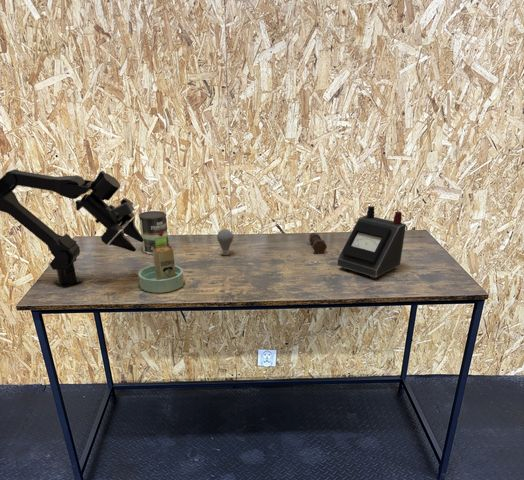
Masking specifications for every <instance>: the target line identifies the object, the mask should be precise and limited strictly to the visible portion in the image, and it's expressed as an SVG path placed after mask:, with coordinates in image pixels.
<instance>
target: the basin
mask: <svg viewBox="0 0 524 480" xmlns="http://www.w3.org/2000/svg"><path fill="white" fill-rule="evenodd" d="M174 265H175V264H174ZM175 275H176V276H175V277H173V278H169V279H164V280H156V274H155V266H154V264H153V265H152V264H151V265H149V266H146V267H143V268H142V269H140V270H139V271H138V281H139V287H140V289H141V290H143V291H145V292H149V293H154V294H162V293H163V294H164V293H170V292H173V291H176V290H179V289H180V288H182V287H183V286H184V285H185V281H184V271H183V268H182V267H180V266H179V265H175Z"/></svg>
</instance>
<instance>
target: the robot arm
mask: <svg viewBox="0 0 524 480" xmlns="http://www.w3.org/2000/svg"><path fill="white" fill-rule="evenodd" d="M19 186H20V187H25V188H31V189H38V190H43V191H48V192H49V191H50V192H52V193H53V192H54V193H56V194H58V195H59V196H61V197H63V198H64V197H65V198H67V199H70V200H76V199H77V198H80V197H81V196H82V197H81V199H77V200H76V201H75V210H76V211H77V212H78V211H80V210H81V209H83V210H84V209H85V211H86V212H88V213H89V214H90V215H91V216H92V217H93V218H94V219H95V220H94V222H95V223H96V224H99V223H100V224H101V225H102V226H103V227H105V231H104V233H102V235H101V236H100V239H101V242H103V243H104V245H106V246H107V245H109V246H114V247H117V248H121V249H124V250H127V251H131V252H132V253H133V252H134V253H135V252H136V251H137V248H136V247H135V246H134V245H133V244H132V242H131V241H130V240H129V239H128V238H127V237H126V235H127V236H129V237H130V238H131V239H134V240H135V241H138V242H140V243H142V242H143V241H144V239H143V238H142V236H141V232H140V231H139V229H138V228H137V226H136V217H135V214H134V213H133V211H135V209H136V208H135V207H134V206H133V205H134V203H133V201H131V199H128V198H127V197H124V198H122V199H121V200H120V204H119V205H117V206H115V205H113V204H108V203H107V202H105V201H110V200H111V198H113V196H114V195H115V194H116V193H117V192H118V191H119V189H120V188H121V183H120V181H118V179H117V178H116V177H114V176H112V175H111V174H109V173H106V172H105V171H104V170H101V171H100V172H99V173H97V176H96V178H94V180H88V179H84V177H82V176H80V175H61V176H54V175H48V174H42V173H36V172H31V171H30V172H29V171H25V170H24V171H23V170H19V169H11V170H9V171H6V172H5V173H4V175H2V176H1V178H0V212H3V213H5V214H8V215H9V216H11V217H12V218H13V219H14V220H15V221H16V222H18V223H19V224H20V225H22V226H23V227H24V228H25V229H27V230H28V231H29V232H30V233H31V234H33V235H34V236H35V237H36V238H37V239H39V240H40V241H41V242H42V243H44V244H45V245H46V247H48V250H49V251H50V254H51V255H52V256H53V257H54V258H53V259H52V260H51V261H50V263H49V266H50V267H51V269H52V270H54V271H55V270H56V273H57V279H56V280H55V281H54V283H55V284H57V285H59V286H61V287H63V288H67V287H70V286H74V285H76V284H80V283H82V280H81V279H79V278H77V272H76V268H75V262H77V259H78V257H79V256H80V254H81V249H80V247H81V246H80V245H79V244H78V243H77V242H78V241H77V240H74V239H73V238H72V237H71V236H70V235H69V234H68V233H64V235H60V234H58V233H57V232H55V231H54V230H53V229H52V228H50V227H49V226H48V225H47V224H46V223H44V222H43V221H42V220H41V219H39V218H38V217H37V216H36V215H35V214H33V213H32V211H30V210H29V209H27V207H26V206H24V205H23V204H22V203H20V201H19V199H18V198H17V196H16V193H15V192H14V190H15V189H16V188H17V187H19ZM90 191H91V192H90ZM88 192H90V193H89V194H87V193H88Z"/></svg>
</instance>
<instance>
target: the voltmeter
mask: <svg viewBox="0 0 524 480" xmlns="http://www.w3.org/2000/svg"><path fill="white" fill-rule="evenodd" d="M402 215H403V212H401V211H395V212H394V216H393V220H390V219H385V218H381V217H376V216H375V206H373V205H369V206H368V207H367V211H366V215H363V216H360V217H358V219H357V221H356V223H355V224H354V226H353V227H352V230H351V233H350V234H349V235H348V238H347V240H346V242H345V244H344V246H343V247H342V249H341V252H340V254H339V255H338V257H337V262H336V266H337V267H340V268H341V269H342V271H348V270H351V271H353V272H356V273H360V274H364V275H367V276H369V277H370V279H372V280H376V279H377V278H378V277H379V276H381V275H383V274H385V273H387V272H389V271H392V270H393V271H394V270H395V269H396V267H399V266H401V261H402V254H403V247H404V240H405V234H406V228H407V223H404V222H402V219H403V217H402Z"/></svg>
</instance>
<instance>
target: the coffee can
mask: <svg viewBox="0 0 524 480" xmlns="http://www.w3.org/2000/svg"><path fill="white" fill-rule="evenodd" d="M138 218H139V219H138V220H139V227H140V234H141V236H142V238H143V239H144V241H143V242H141V244H142V252H143V253H145V254H148V255H153V249H154V248H159V247H164V246H167V247H169V248H170V245H169V244H170V243H169V233H168V224H167V223H168V222H167V213H166V212H165V211H160V210H159V211H158V210H150V211H144V212H141V213H139V214H138Z"/></svg>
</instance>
